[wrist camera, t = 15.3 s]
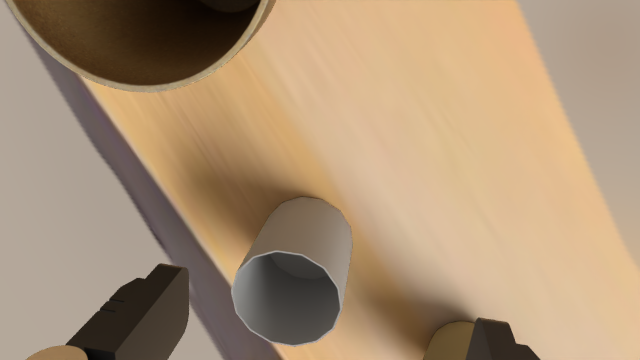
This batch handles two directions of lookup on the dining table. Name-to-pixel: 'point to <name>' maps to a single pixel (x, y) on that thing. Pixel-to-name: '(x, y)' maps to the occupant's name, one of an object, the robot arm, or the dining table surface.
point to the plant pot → (142, 37)
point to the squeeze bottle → (450, 342)
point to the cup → (295, 273)
